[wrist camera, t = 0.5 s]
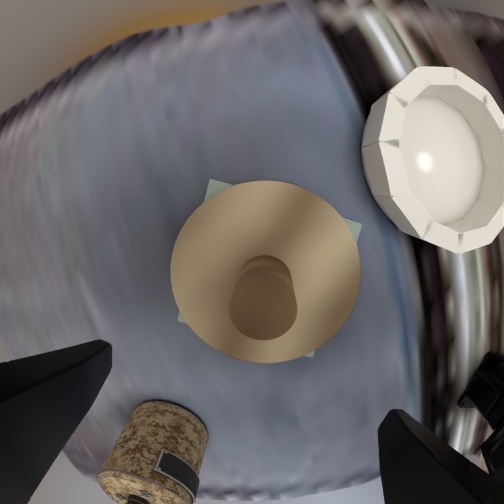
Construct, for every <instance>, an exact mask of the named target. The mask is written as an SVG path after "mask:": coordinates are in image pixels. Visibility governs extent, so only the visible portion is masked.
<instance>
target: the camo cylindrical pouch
mask: <svg viewBox="0 0 504 504" xmlns="http://www.w3.org/2000/svg"><path fill="white" fill-rule="evenodd" d="M207 440H208V433H207V430H206V428H205V426H204V425H203V424H202V422H201V421H200V420H199V419H198V418H197V417H196V416H195V415H193V414H192V413H191V412H189V411H188V410H186V409H184V408H182V407H180V406H178V405H175V404H172V403H168V402H161V401H151V402H145V403H143V404H141V405H139V406H138V407H137V408H136V409H135V411H134V413H133V414H132V416H131V418H130V419H129V421H128V423H127V425H126V426H125V428H124V430H123V432H122V433H121V435H120V437H119V439H118V440H117V442H116V444H115V446H114V447H113V449H112V451H111V453H110V454H109V456H108V458H107V460H106V461H105V463H104V465H103V467H102V468H101V470H100V472H99V474H98V476H97V478H98V481H99V483H100V485H101V487H102V489H103V490H104V491H105V492H106V494H107V495H109V496H110V497H111V498H112V499H113V500H115V501H116V502H118V503H119V504H194V503H195V501H196V500H195V498H196V494H197V490H198V489H199V487H198V486H199V482H200V480H199V476H198V475H199V471H200V468H201V464H202V460H203V456H204V452H205V448H206V444H207Z"/></svg>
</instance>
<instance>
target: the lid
mask: <svg viewBox="0 0 504 504" xmlns="http://www.w3.org/2000/svg"><path fill="white" fill-rule="evenodd" d="M170 278H171V285H172V291H173V294H174V298H175V301H176V303H177V306H178V308H179V311H180V312H181V314H182V316H183V318H184V319H185V321H186V322H187V324H188V325H189V326H190V328H191V329H192V330H193V331H194V332H195V333H196V334H197V335H198V336H199V337H200V338H201V339H202V340H203V341H204V342H206V343H207V344H208V345H210V346H211V347H213V348H214V349H216V350H218V351H219V352H221V353H224V354H226V355H228V356H230V357H233V358H236V359H239V360H243V361H248V362H255V363H277V362H284V361H289V360H293V359H296V358H299V357H302V356H304V355H307V354H309V353H311V352H312V351H314V350H316V349H318V348H319V347H321V346H322V345H324V344H325V343H326V342H328V341H329V340H330V339H331V338H332V337H333V336H334V335H335V334H336V333H337V332H338V331H339V330H340V329H341V327H342V326H343V325H344V323H345V322H346V320H347V319H348V317H349V316H350V314H351V312H352V310H353V307H354V305H355V302H356V299H357V296H358V293H359V287H360V281H361V265H360V256H359V252H358V248H357V245H356V242H355V239H354V237H353V234H352V233H351V231H350V229H349V227H348V225H347V224H346V222H345V221H344V220H343V218H342V217H341V216H340V214H339V213H338V212H337V211H336V210H335V209H334V208H333V207H332V206H331V205H330V204H329V203H327V202H326V201H325V200H323V199H322V198H321V197H319V196H318V195H316V194H314V193H312V192H311V191H309V190H307V189H304V188H302V187H299V186H296V185H294V184H289V183H285V182H280V181H268V180H264V181H251V182H246V183H241V184H237V185H234V186H231V187H229V188H226V189H224V190H222V191H220V192H218V193H216V194H214V195H213V196H212V197H210V198H209V199H207V200H206V201H204V202H203V203H202V204H201V205H200V206H199V207H198V208H197V209H196V210H195V211H194V212H193V213H192V214H191V215H190V217H189V218H188V219H187V220H186V222H185V224H184V225H183V227H182V229H181V230H180V232H179V235H178V237H177V239H176V242H175V245H174V248H173V252H172V258H171V265H170Z"/></svg>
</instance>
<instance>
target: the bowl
mask: <svg viewBox="0 0 504 504" xmlns="http://www.w3.org/2000/svg"><path fill="white" fill-rule="evenodd" d="M361 152H362V163H363V169H364V174H365V177H366V180H367V184H368V186H369V188H370V191H371V193H372V195H373V197H374V199H375V201H376V202H377V204H378V205H379V207H380V208H381V210H382V211H383V212H384V213H385V214H386V216H387V217H388V218H389V219H390V220H391V221H392V222H394V223H395V224H396V226H397V227H398V228H399V230H400V231H401V232H404V233H407V234H409V235H412V236H414V237H417V238H420V239H422V240H425V241H427V242H430V243H432V244H435V245H437V246H440V247H442V248H445V249H447V250H449V251H452V252H454V253H457V254H461V253H464V252H467V251H470V250H473V249H476V248H479V247H482V246H484V245H487V244H490V242H491V243H492V241H493V240H494V239H495V237H496V236H497V235H498V233H499V232H500V230H501V229H502V228H503V226H504V115H503V113H502V112H501V110H500V108H499V107H498V105H497V104H496V102H495V101H494V99H493V98H492V96H491V95H490V93H489V92H487V90H486V89H485V88H483V87H482V86H481V85H479V84H478V83H476V82H475V81H474V80H472V79H471V78H469V77H468V76H466V75H465V74H463V73H462V72H460V71H459V70H457V69H455V68H450V67H417V68H415V69H414V70H413V71H411V72H410V73H409V74H408V75H406V76H405V77H404V78H402V79H401V80H400V81H399V82H397V83H396V84H395V85H394V86H393V87H392V88H391V89H390V90H388V91H387V92H386V93H385V94H384V95H383V96H382V97H381V98H379V99H378V100H377V101H376V102H375V103H374V104H373V105H372V106H371V111H370V114H369V116H368V118H367V120H366V124H365V127H364V130H363V136H362V148H361Z"/></svg>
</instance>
